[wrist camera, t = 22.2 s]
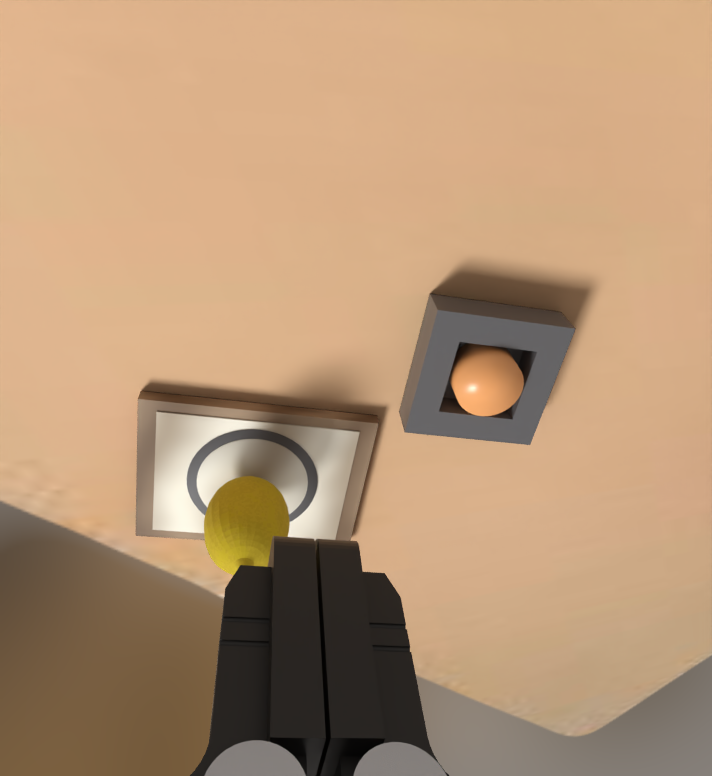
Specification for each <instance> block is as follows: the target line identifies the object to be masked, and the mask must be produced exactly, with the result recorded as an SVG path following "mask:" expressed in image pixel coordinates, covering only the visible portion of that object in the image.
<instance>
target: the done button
mask: <svg viewBox="0 0 712 776" xmlns="http://www.w3.org/2000/svg"><path fill="white" fill-rule="evenodd" d="M449 381H450V384H451V386H452V388H453V391H454V393H455V395H456V398H457V400H458V402H459V404H460V406H461V407H462V408H463V409H464V410H466V411H467V412H469V413H471V414H473V415H477V416H492V415H496V414H499V413H501V412H503V411H505V410H507V409H508V408H510V407H511V406H512V405H513V404H514V403H515V402H516V401H517V400H518V398H519V397H520V395H521V393H522V390H523V385H524V378H523V374H522V372H521V370H520V368H519V367H518V365H517V363H516V362H515V360H514V359H513V357H512V356H511V354H510V352H509V351H508V350H507V348H504V347H496V346H488V345H480V344H472V343H467V344H465V345H463V346H462V347H461V348H459V349H458V350H457V352H456V355H455V359H454V362H453V366H452V369H451V372H450V376H449Z"/></svg>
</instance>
